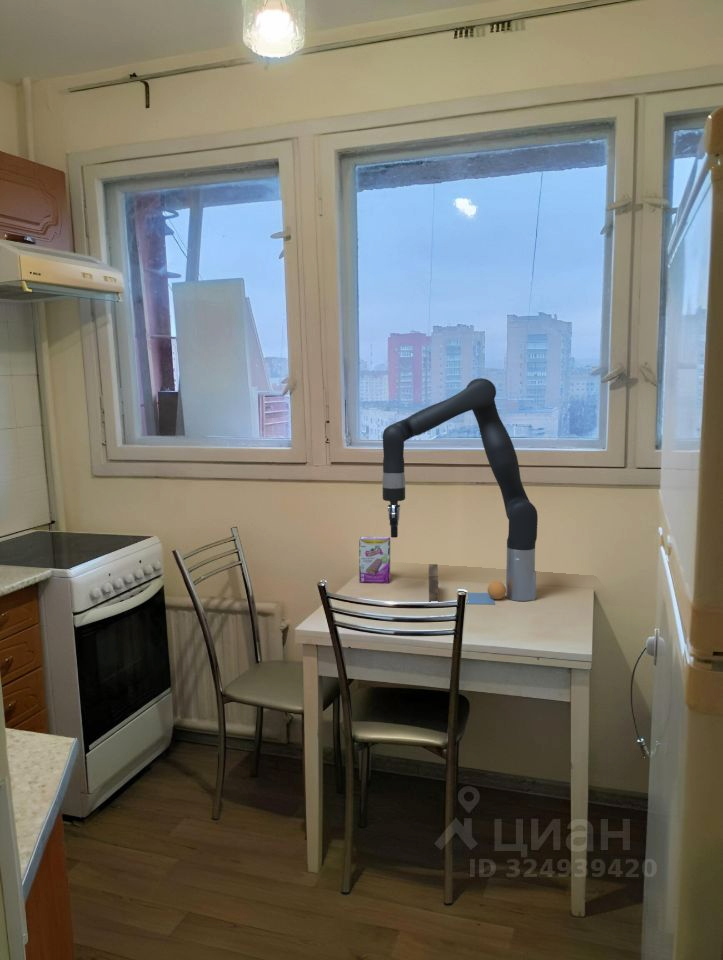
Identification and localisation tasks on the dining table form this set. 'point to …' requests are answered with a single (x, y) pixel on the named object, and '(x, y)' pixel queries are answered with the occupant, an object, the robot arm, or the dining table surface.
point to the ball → (496, 590)
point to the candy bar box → (374, 559)
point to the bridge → (433, 582)
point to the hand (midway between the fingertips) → (394, 536)
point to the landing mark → (479, 598)
